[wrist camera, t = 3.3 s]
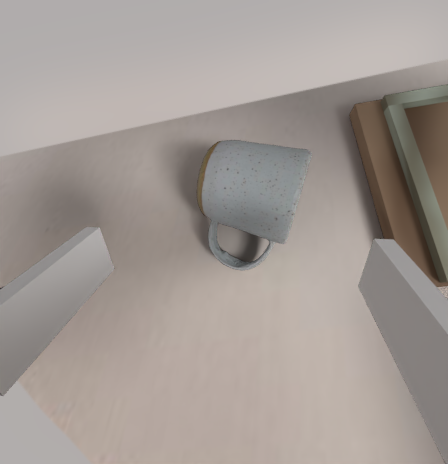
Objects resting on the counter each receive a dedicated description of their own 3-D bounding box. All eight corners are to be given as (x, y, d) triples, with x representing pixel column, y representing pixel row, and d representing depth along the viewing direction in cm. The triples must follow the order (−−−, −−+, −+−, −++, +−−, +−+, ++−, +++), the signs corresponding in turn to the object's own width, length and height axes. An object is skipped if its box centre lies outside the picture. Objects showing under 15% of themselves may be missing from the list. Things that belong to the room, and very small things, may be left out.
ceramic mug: (226, 164, 25) (212, 112, 18) (302, 180, 23) (323, 130, 16) (195, 257, 23) (165, 243, 16) (275, 282, 21) (284, 279, 14)
